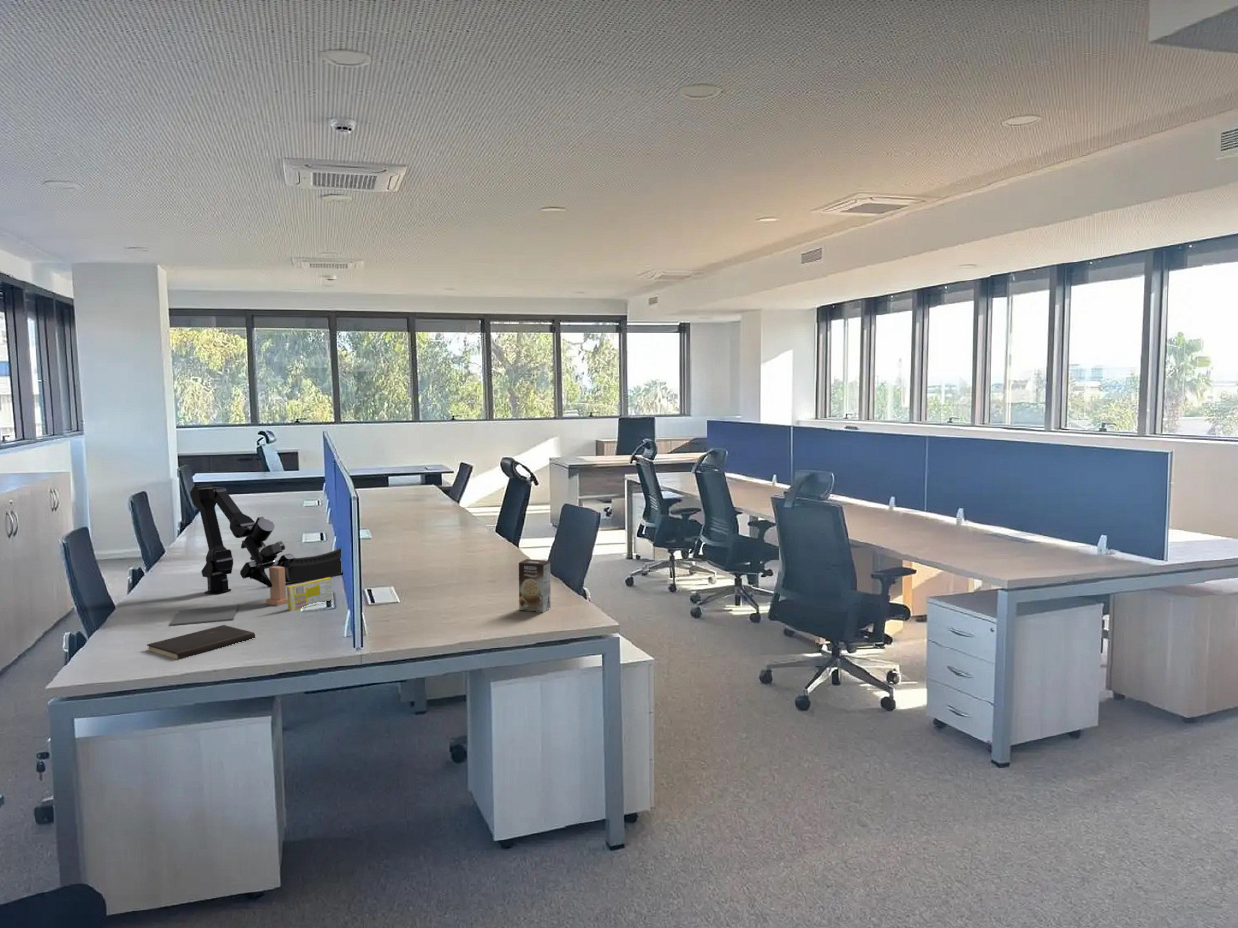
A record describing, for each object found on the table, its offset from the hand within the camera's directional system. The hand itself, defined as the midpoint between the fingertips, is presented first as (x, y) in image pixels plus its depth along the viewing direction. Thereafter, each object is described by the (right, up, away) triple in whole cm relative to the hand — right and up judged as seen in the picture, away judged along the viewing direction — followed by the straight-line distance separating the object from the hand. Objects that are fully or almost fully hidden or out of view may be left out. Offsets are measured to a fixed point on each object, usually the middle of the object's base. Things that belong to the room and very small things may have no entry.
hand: (280, 584), depth 287 cm
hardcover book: (-4, -11, -46) cm, 47 cm away
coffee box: (+88, -7, -11) cm, 89 cm away
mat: (-18, -8, -15) cm, 25 cm away
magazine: (-1, -4, +39) cm, 39 cm away
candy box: (+11, -7, -3) cm, 14 cm away
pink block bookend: (-1, -7, +1) cm, 7 cm away
